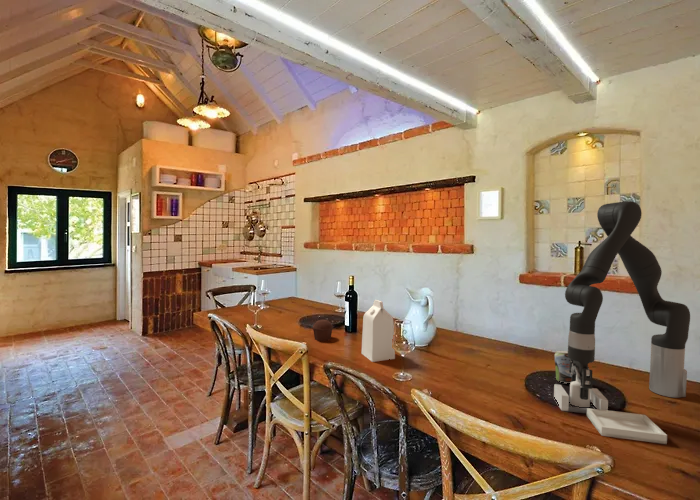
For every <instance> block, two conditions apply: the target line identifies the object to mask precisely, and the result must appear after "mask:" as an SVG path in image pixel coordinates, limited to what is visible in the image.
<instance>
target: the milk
mask: <svg viewBox="0 0 700 500" xmlns="http://www.w3.org/2000/svg"><path fill="white" fill-rule="evenodd" d="M362 318H363V319H362V334H361V355H362V356H364V357H365V358H367V359H368V360H369V361H370V362H372V363H374V362H375V363H376V362H380V361H388V360H389V359H390V360H395V359H396V354H395V352H396V351H395V350H396V349H395V350H394V349H393V348H392V339H393V335H394V336H395V327H394V324H395V323H394V318H393V317H392V315H391V314H390V313H389V312H388V311H387V310H386V309H385V308H384V303H383V301H381V300H378V299H374V300H373V303H372V305H371V307H369V308H368V310H367V311H365V313H364V314H363V317H362Z"/></svg>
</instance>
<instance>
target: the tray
mask: <svg viewBox="0 0 700 500" xmlns="http://www.w3.org/2000/svg"><path fill="white" fill-rule="evenodd" d="M586 417H587V418H588V419H589V420H590V422H591V424H592V425H593V426H594V428H595V429H596V430H597V431H598V433H599V434H600V436H603V437H611V438H617V439H626V440H633V441H641V442H645V443H646V442H649V443H654V444H660V445H667V443H668V434H666V432H664V431H663V430H662V429H661V428H660V427H659V426H658V425H657V424H655V423H654V421H652V419H650V417H648V416H647V415H646V414H640V413H633V412H632V413H631V412H624V411H615V410H599V409H595V408H587V413H586Z"/></svg>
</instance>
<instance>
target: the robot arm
mask: <svg viewBox="0 0 700 500" xmlns="http://www.w3.org/2000/svg"><path fill="white" fill-rule="evenodd" d="M642 214H643V213H642V209H641V206H640V205H639V203H637V202H635V201H631V200H626V201H619V202H618V201H617V202H610V203H605V204H603V205H601V206H600V207H599V208H598V210H597V213H596V215H597V221H598V223H599V226H600V227H601V229H602V230H603V232H604V233H605V235H606V238H605V239H604V240H602V242H601V243H599V244H598V245H597V246H595V248H593V249H592V250H591V252H590V253H589V254H588V256H587V258H586V261H585V262H584V264H583V267H582V269H581V271H580V272H579V273H577V274H576V276H575V277H574V278H573V279H572V281H570V283H569V284H568V285H567V287H566V289H565V290H564V291H565V293H564V298H565V300H566V302H567V303H568V304H569V305H573V306H577V307H583V309H582V311H581V312H573V313H572V314H570V317H569V333H568V338H567V339H568V341H567V351H568V358H569V359H570V365H569V373H571V377H572V380H571V382H573V381H576V375H577V380H578V381H579V383H580V398H581V399H584V400H588V392H589V389H592V388H593V370H592V369H590V367H589V364H590V363H594V362H595V360H596V359H595V358H596V357H595V356H596V355H595V354H596V333H595V332H596V320H597V317H598V314H599V312H600V309H601V307H602V304H603V301H604V298H603V297H604V295H603V292H602V291H601V290H600V289H599V287H597V286H592V285H595V284H596V285H597V284H601V283H603V282H604V281H605V280H606V278H607V275H608V274H609V271H610V269H611V266H612V264H613V262H615V261H614V260H615V259H616V257H617V255H618V256H619V257H620V259H621V261H622V264H623V266H624V269H625V270H626V272H627V274H628V276H629V277H630V279H631V280H632V282H633V284H634V287H635V290H636V292H637V294H638V296H639V298H640V301H641V304H642V306H643V307H642V308H643V310H644V312H645V315H646V317H647V319H648V321H650V322H651V323H653V324H655V325H658V326H662V327H666V329H665V333H660V334H654V335H651V341H650V361H649V363H650V364H649V382H648V385H649V386H648V389H649V391H651V392H653V393H655V394H657V395H660V396H663V397H669V398H686V397H687V378H688V371H687V369H685V357H686V355H685V354H686V353H685V352H686V344H687V342H688V338H689V333H690V332H689V331H690V324H691V323H690V322H691V313H690V312H691V311H690V308H689V307H688V306H687V305H686V304H685V303H684V304H683V303H681V302H675V301H669V300H665V299H663V297H662V296H661V295H660V293H659V290H658V285H659V283H660V280H661V278H662V273H663V272H662V267H661V265H660V263H659V261H658V259H657V257H656V255H655V253H654V252H653V251H652V250H651V249H649V248H648V247H647V246H645V245H644V244H643V243H641V242H640V241H639V240H637V239H636V238H634V237H633V236H632V234H633V233H634V231H635V229H637V227H638V226H639V224H640V222H641V219H642ZM585 383H586V384H585Z"/></svg>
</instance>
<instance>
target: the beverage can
mask: <svg viewBox="0 0 700 500" xmlns="http://www.w3.org/2000/svg"><path fill="white" fill-rule="evenodd" d="M569 365H570V359H569V358H568V350H555V353H554V366H555V367H554V368H555V380H556V381H558V382H559V381H560V382H559V383H561V382H564V383H563V384H567V383H571V380H572V377H571V373H569Z"/></svg>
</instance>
